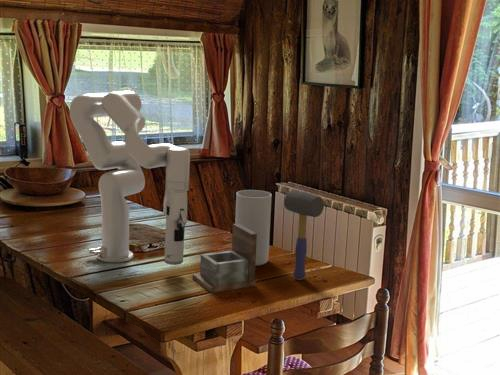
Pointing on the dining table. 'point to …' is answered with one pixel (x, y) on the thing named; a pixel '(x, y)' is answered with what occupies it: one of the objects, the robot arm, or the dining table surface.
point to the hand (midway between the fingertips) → (174, 237)
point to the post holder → (230, 263)
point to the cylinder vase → (255, 219)
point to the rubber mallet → (302, 223)
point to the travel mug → (172, 243)
